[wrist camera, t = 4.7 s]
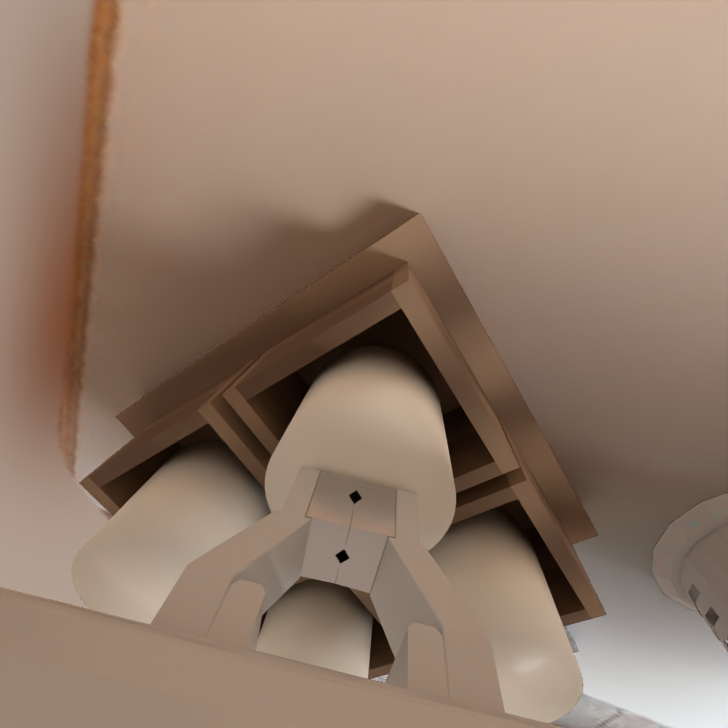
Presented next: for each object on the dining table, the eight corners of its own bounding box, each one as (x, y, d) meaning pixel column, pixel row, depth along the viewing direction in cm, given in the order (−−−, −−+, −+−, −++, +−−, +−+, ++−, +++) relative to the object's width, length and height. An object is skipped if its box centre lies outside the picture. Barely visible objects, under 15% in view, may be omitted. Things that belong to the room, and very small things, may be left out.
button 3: (550, 570, 16) (608, 713, 12) (447, 603, 18) (461, 742, 13) (499, 488, 15) (541, 611, 10) (392, 531, 16) (386, 656, 12)
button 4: (392, 620, 18) (388, 756, 14) (312, 646, 20) (283, 777, 15) (336, 553, 17) (310, 678, 12) (254, 586, 19) (204, 709, 14)
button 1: (463, 428, 14) (491, 531, 10) (355, 478, 16) (334, 589, 11) (395, 320, 13) (390, 378, 8) (284, 385, 14) (227, 466, 10)
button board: (581, 506, 21) (652, 625, 15) (321, 600, 26) (295, 716, 20) (418, 213, 16) (426, 212, 10) (140, 398, 21) (35, 472, 15)
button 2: (298, 508, 16) (255, 623, 12) (216, 545, 18) (148, 661, 13) (225, 421, 15) (145, 513, 10) (143, 469, 16) (40, 568, 12)
